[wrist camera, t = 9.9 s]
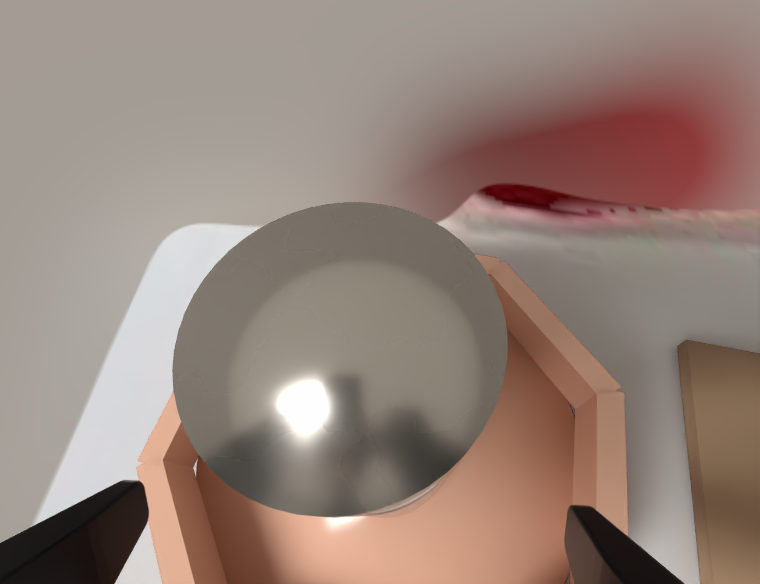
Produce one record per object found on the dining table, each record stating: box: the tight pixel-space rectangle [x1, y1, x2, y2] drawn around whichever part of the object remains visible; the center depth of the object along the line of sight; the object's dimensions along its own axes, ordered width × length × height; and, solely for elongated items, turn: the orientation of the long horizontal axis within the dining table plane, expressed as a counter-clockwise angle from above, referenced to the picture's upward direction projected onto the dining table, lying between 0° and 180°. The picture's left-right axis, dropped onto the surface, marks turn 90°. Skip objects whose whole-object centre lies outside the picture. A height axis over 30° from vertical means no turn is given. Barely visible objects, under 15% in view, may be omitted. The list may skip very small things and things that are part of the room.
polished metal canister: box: [172, 202, 508, 518], centre depth 13 cm, size 6×6×12 cm
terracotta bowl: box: [136, 254, 628, 584], centre depth 17 cm, size 18×18×4 cm
